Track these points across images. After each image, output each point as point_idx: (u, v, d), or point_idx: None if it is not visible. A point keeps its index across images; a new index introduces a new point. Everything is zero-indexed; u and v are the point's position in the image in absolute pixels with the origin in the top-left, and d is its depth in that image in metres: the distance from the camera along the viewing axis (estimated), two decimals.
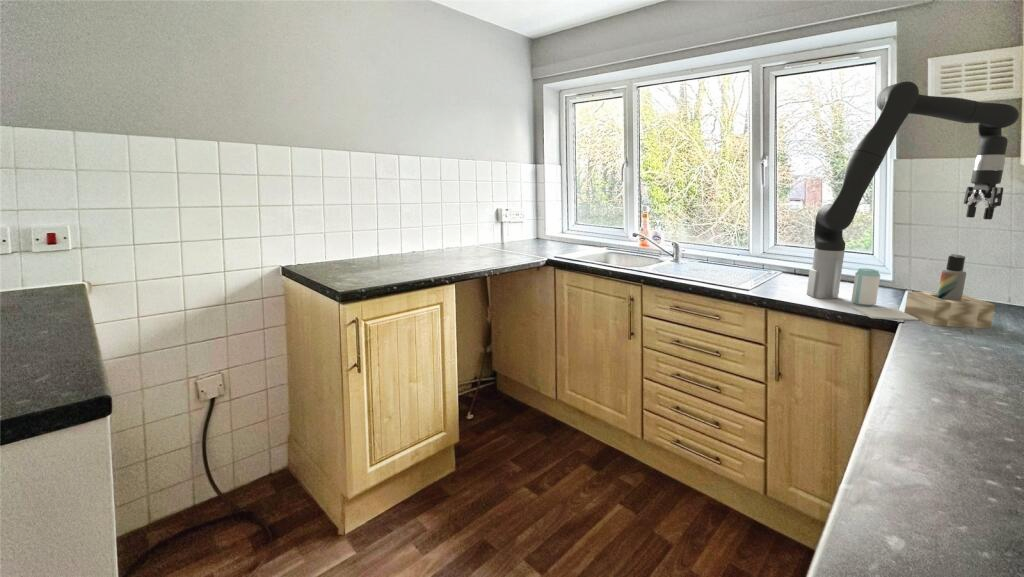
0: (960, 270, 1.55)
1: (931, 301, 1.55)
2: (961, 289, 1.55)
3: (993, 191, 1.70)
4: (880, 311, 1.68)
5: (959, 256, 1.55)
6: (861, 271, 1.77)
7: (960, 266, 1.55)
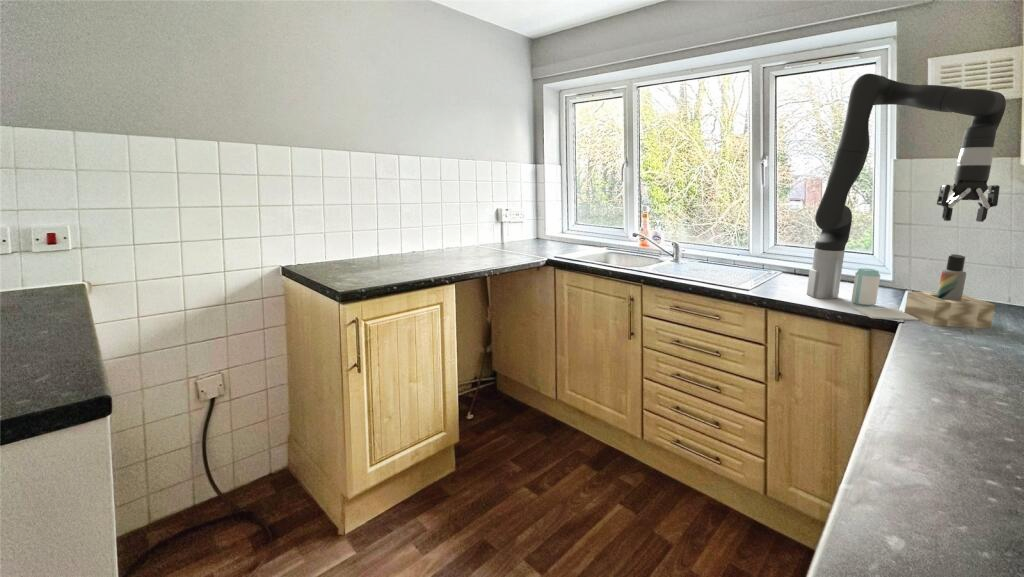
0: (960, 270, 1.55)
1: (931, 301, 1.55)
2: (961, 289, 1.55)
3: (997, 190, 1.50)
4: (880, 311, 1.68)
5: (959, 256, 1.55)
6: (861, 271, 1.77)
7: (960, 266, 1.55)
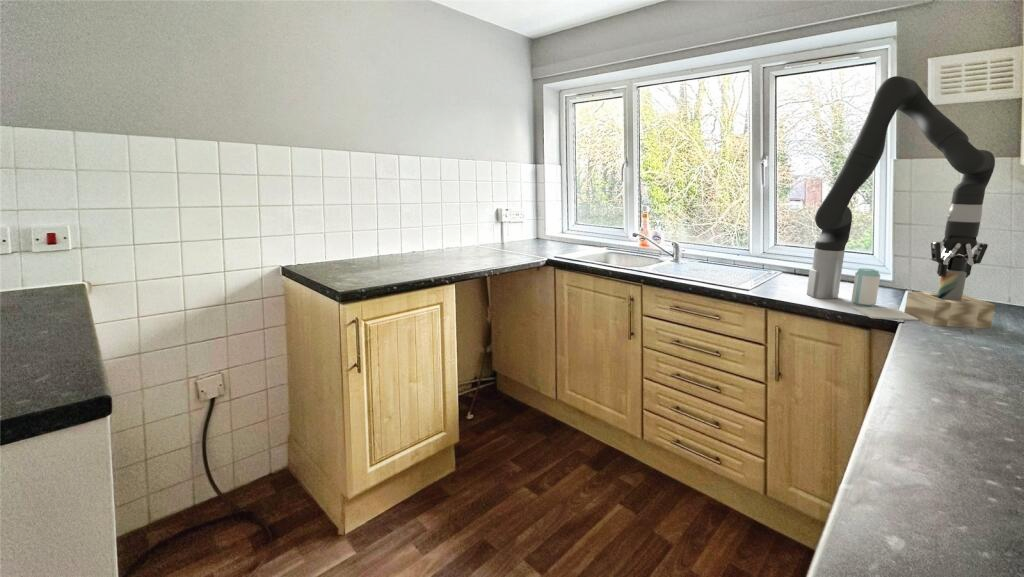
0: (960, 270, 1.55)
1: (931, 301, 1.55)
2: (961, 289, 1.55)
3: (985, 248, 1.53)
4: (880, 311, 1.68)
5: (959, 256, 1.55)
6: (861, 271, 1.77)
7: (960, 266, 1.55)
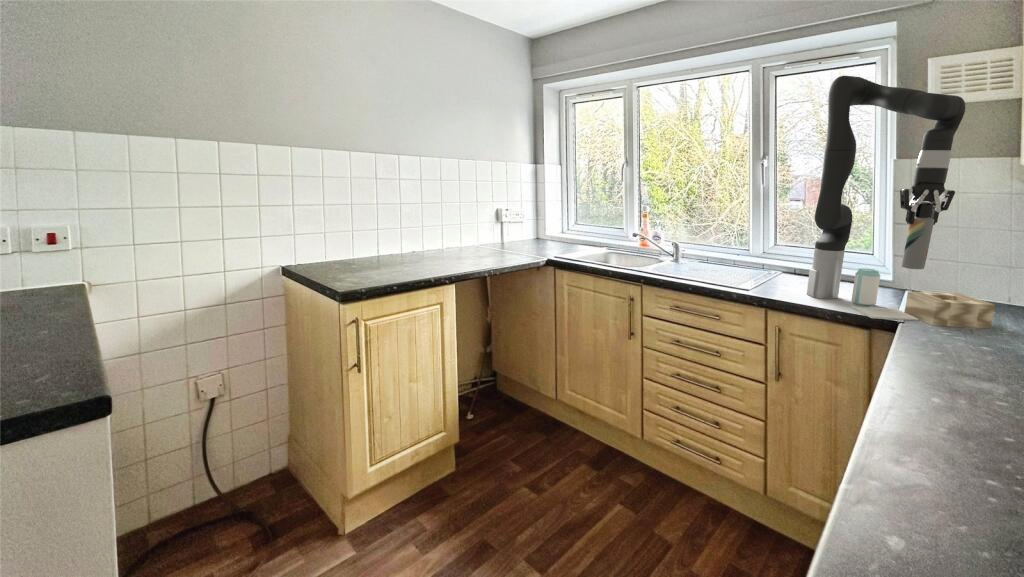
0: (928, 217, 1.56)
1: (931, 301, 1.55)
2: (928, 236, 1.56)
3: (952, 195, 1.54)
4: (880, 311, 1.68)
5: (927, 203, 1.56)
6: (861, 271, 1.77)
7: (928, 213, 1.56)
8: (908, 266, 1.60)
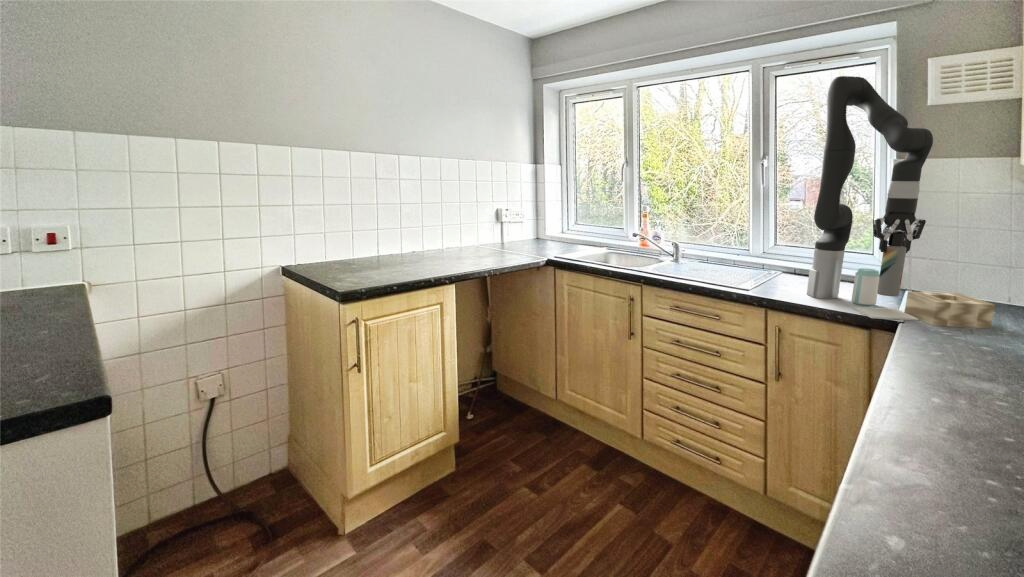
0: (900, 245, 1.60)
1: (931, 301, 1.55)
2: (901, 264, 1.60)
3: (923, 224, 1.58)
4: (880, 311, 1.68)
5: (899, 232, 1.61)
6: (861, 271, 1.77)
7: (900, 242, 1.60)
8: (883, 293, 1.64)
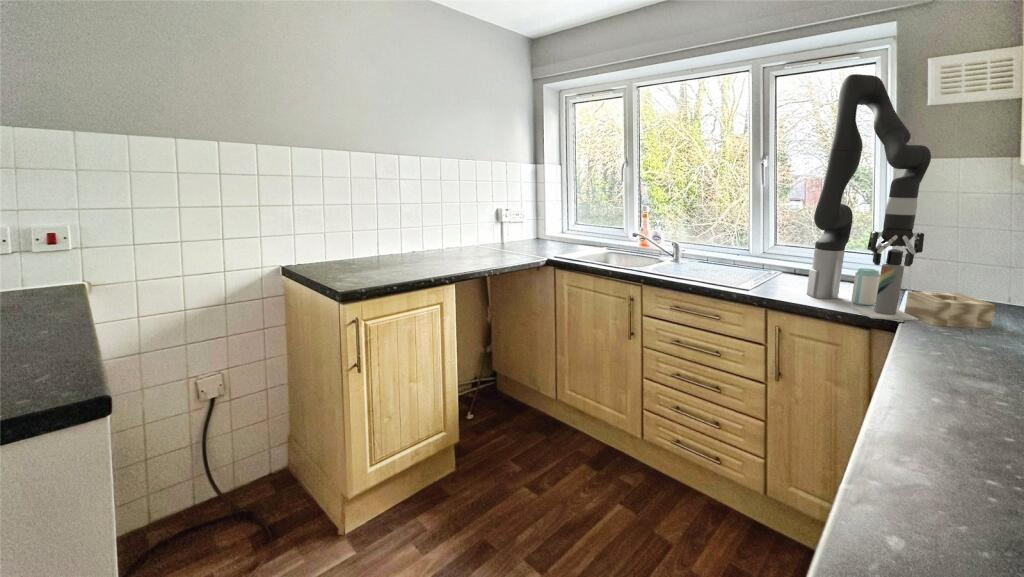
0: (898, 264, 1.61)
1: (931, 301, 1.55)
2: (899, 282, 1.61)
3: (922, 237, 1.59)
4: None
5: (897, 251, 1.62)
6: (861, 271, 1.77)
7: (898, 260, 1.61)
8: (880, 311, 1.65)
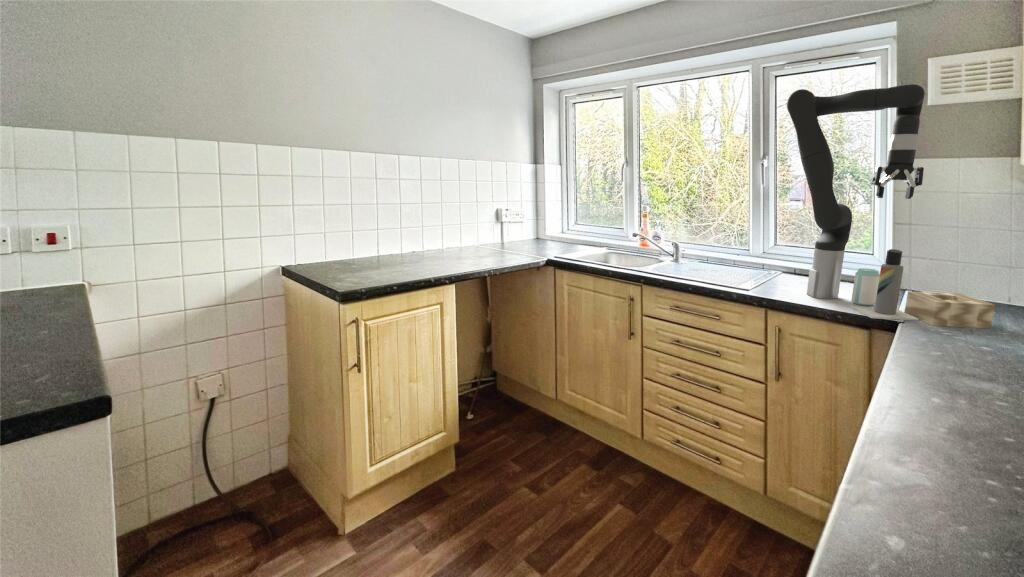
0: (897, 264, 1.61)
1: (931, 301, 1.55)
2: (898, 282, 1.62)
3: (922, 171, 1.74)
4: None
5: (897, 251, 1.62)
6: (861, 271, 1.77)
7: (897, 260, 1.61)
8: (880, 311, 1.65)
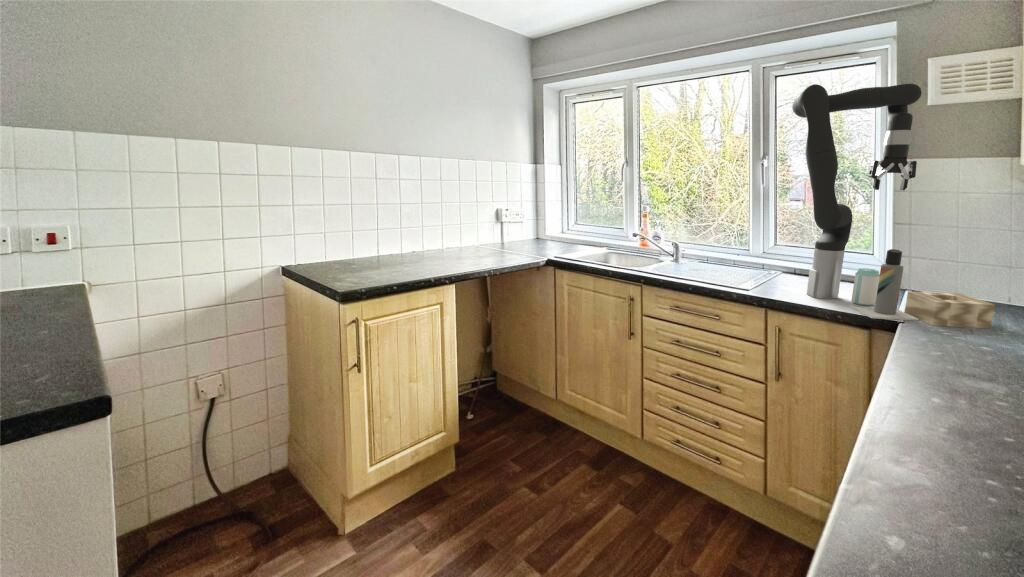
0: (897, 264, 1.61)
1: (931, 301, 1.55)
2: (898, 282, 1.62)
3: (915, 164, 1.87)
4: None
5: (896, 251, 1.62)
6: (861, 271, 1.77)
7: (897, 260, 1.61)
8: (880, 311, 1.65)
